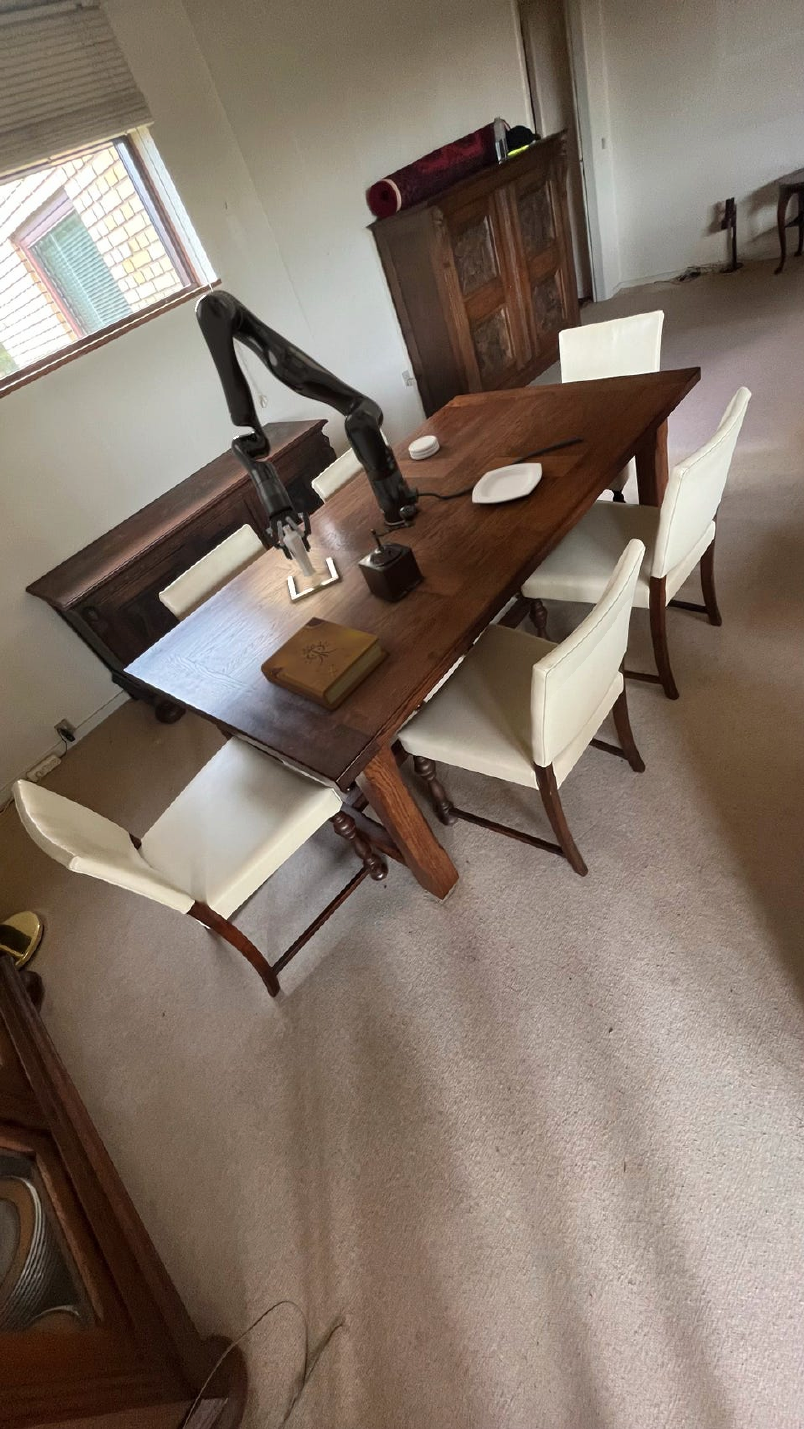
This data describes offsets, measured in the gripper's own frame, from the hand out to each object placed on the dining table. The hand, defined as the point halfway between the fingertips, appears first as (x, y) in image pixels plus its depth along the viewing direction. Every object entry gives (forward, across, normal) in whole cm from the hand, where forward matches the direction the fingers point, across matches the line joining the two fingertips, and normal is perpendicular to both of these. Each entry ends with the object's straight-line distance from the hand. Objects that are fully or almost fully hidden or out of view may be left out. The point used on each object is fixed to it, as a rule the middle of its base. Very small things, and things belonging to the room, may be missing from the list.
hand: (299, 554), depth 171 cm
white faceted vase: (+4, 0, +6) cm, 8 cm away
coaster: (-28, +49, +41) cm, 70 cm away
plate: (+6, +60, +6) cm, 61 cm away
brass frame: (+6, 0, +6) cm, 8 cm away
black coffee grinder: (+21, +23, -9) cm, 33 cm away
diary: (+37, -3, -25) cm, 44 cm away
